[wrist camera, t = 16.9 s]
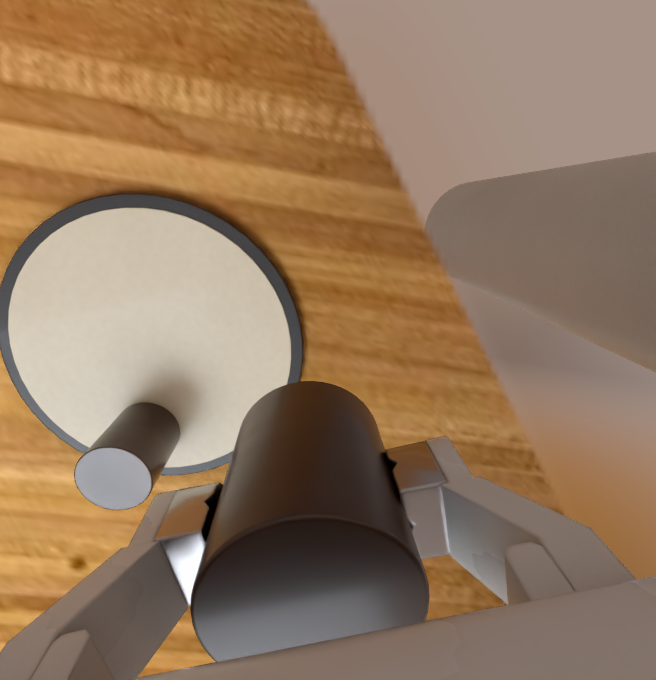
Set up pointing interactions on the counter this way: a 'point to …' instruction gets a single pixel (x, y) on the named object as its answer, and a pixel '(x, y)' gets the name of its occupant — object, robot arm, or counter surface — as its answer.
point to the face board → (147, 323)
